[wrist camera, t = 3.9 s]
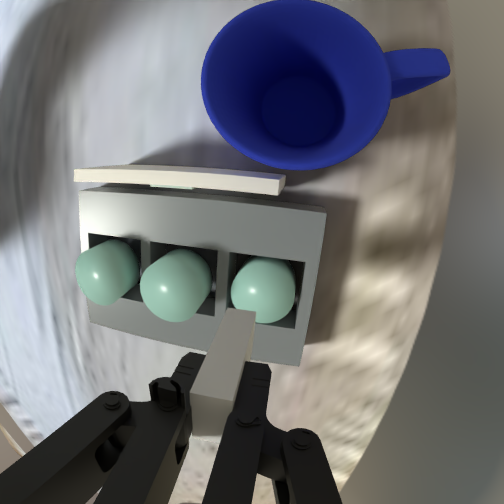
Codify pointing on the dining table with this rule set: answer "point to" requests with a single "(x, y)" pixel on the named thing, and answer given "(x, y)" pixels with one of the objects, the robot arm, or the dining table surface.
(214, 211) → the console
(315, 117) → the mug
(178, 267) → the button middle
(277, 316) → the button right
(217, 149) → the dining table surface
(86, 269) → the button left
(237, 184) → the pattern card
